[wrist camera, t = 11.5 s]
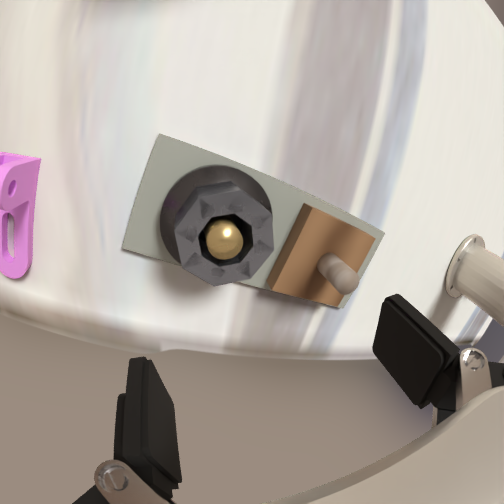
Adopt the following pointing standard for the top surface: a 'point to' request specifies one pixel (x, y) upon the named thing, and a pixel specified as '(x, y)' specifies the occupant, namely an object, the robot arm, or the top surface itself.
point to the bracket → (17, 210)
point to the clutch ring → (253, 233)
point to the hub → (217, 228)
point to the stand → (320, 258)
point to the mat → (191, 157)
